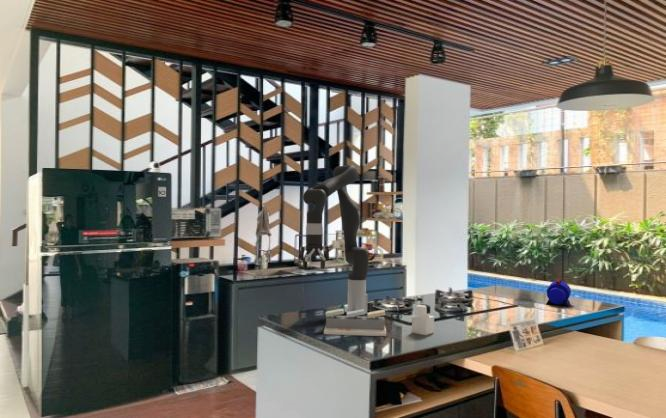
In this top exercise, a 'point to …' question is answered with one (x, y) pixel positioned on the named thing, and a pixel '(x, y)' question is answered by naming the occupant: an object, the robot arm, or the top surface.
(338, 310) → the plate
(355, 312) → the pale grey-blue box
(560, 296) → the alarm clock
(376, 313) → the beige flat panel
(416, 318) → the medicine bottle
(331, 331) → the switch panel
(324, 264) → the robot arm
